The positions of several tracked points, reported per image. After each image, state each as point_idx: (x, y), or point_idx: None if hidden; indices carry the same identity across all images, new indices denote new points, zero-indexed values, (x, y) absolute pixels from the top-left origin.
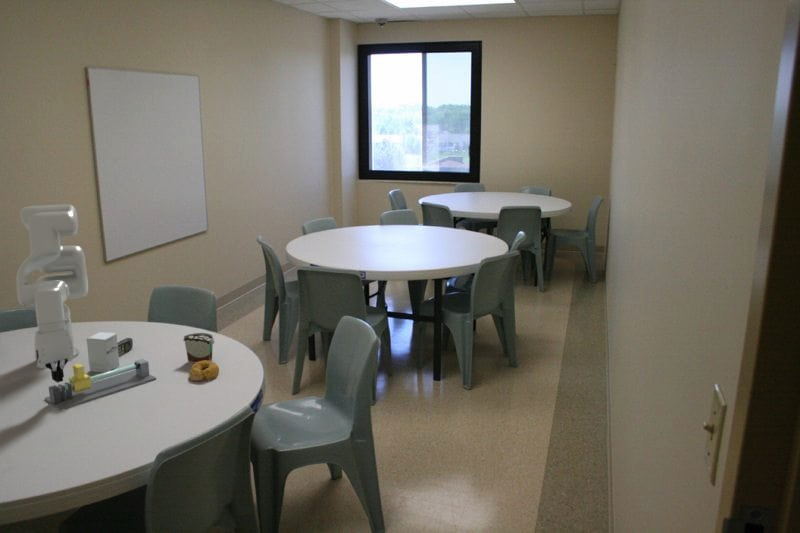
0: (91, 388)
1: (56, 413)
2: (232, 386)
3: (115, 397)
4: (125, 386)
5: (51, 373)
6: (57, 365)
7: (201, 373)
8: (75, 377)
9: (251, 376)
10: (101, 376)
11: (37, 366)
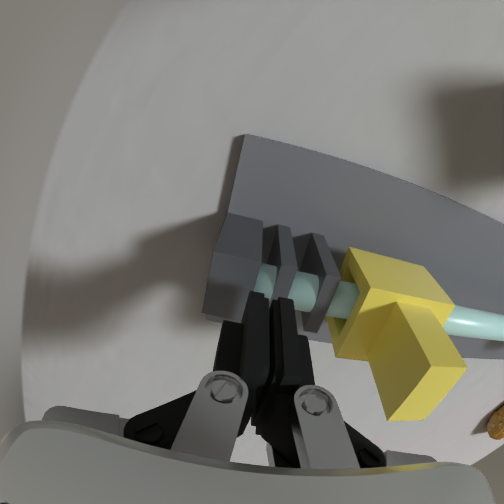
0: (428, 261)
1: (181, 319)
2: (459, 460)
3: None
4: (460, 349)
5: (217, 352)
6: (287, 418)
7: (495, 437)
8: (387, 319)
9: (496, 446)
10: (465, 336)
11: (49, 411)
